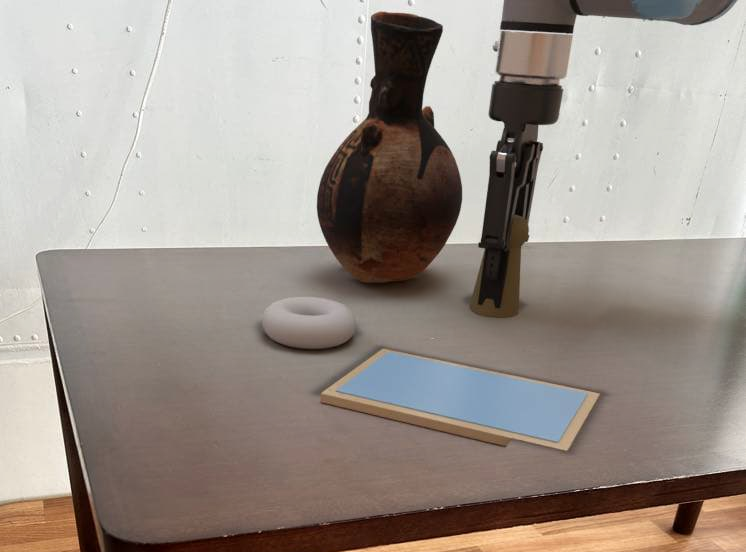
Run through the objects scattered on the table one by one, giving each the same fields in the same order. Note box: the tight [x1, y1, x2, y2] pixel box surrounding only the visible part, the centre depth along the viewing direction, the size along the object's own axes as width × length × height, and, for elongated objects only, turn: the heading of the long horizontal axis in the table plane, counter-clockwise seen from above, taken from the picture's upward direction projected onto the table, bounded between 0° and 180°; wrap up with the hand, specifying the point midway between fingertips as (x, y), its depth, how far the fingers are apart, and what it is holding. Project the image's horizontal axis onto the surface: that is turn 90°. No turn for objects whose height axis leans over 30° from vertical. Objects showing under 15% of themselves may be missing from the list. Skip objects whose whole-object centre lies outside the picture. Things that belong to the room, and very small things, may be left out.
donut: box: [261, 296, 357, 350], centre depth 86 cm, size 10×3×10 cm
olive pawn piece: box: [468, 214, 530, 318], centre depth 97 cm, size 6×6×11 cm
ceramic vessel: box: [316, 10, 463, 284], centre depth 101 cm, size 21×18×30 cm
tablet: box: [320, 348, 601, 452], centre depth 74 cm, size 22×14×1 cm, turn 64°
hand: (495, 300), depth 99 cm, fingers closed on olive pawn piece, 4 cm apart
